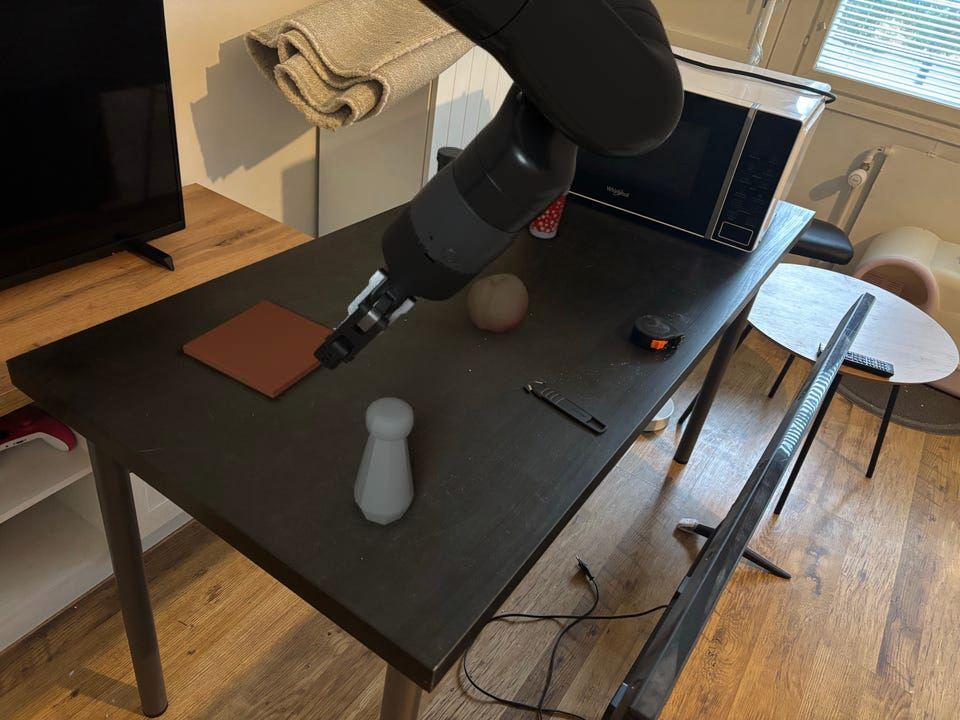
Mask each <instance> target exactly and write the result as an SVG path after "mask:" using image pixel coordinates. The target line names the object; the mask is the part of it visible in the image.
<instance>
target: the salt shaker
mask: <svg viewBox="0 0 960 720" xmlns="http://www.w3.org/2000/svg"><path fill="white" fill-rule="evenodd" d="M414 417H415V416H414V411H413V407H411V406H410V404H409V403H408V402H407V401H405V400H403V399H400V398H398V397H391V396H387V397H381V398H378V399H376V400H375V401H373V402H370V404H369V406H368V407H367V409H366V412H365V428H366V430H367V432H368V433H369V435H368V439H367V442H366V444H365V447H364V448H365V449H364V451H363V454H362V458H361V462H360V465H359V468H358V471H357V475H356V478H355V481H354V484H353V496H354V502H355V503H356V504H357V505H358V507H359V508H360V510H361V511H362V514H363V515H364V517H365V519H366V520H367V521H369V522H373V523H377V524H380V525H383V526H384V525H387V524H390V523H392V522H394V521H396V520H399V519H401V518H402V517H403V516H404V514H405V513H406V512H407V510H408V509H409V507H410V506H411V503H412V502H413V499H414V496H415V492H414V491H415V490H414V484H413V476H412V468H411V467H412V466H411V459H410V452H409V443H408V436H409V435H410V433H411V431H412V429H413V428H414V423H415V418H414Z"/></svg>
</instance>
